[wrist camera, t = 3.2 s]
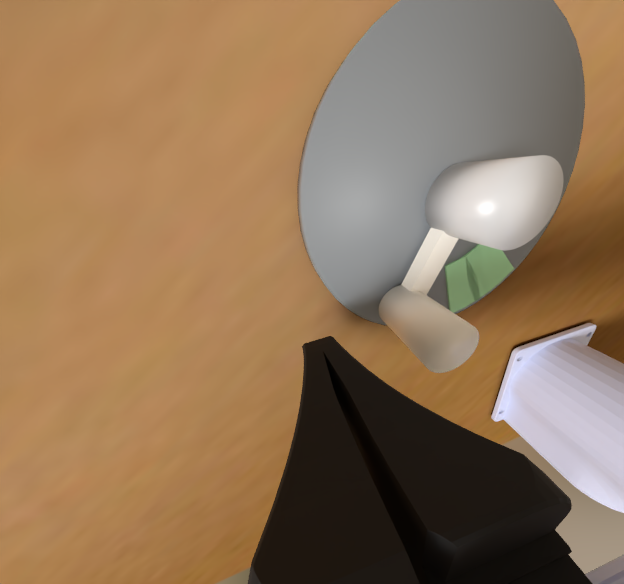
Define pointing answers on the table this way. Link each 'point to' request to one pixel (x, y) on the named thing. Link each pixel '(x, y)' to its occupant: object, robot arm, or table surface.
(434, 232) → the tuning lever
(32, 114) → the table surface
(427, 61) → the dial plate
